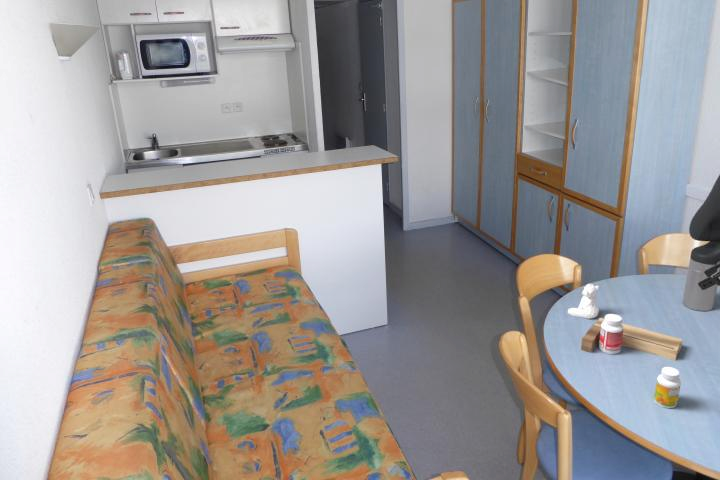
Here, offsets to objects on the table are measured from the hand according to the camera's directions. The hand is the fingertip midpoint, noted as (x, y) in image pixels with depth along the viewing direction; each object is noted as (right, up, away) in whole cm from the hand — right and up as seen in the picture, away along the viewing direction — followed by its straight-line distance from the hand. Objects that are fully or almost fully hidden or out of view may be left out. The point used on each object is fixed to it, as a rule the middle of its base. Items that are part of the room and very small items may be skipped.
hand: (703, 280), depth 145 cm
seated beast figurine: (-13, -15, +43) cm, 48 cm away
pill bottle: (-14, -23, +23) cm, 36 cm away
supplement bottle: (-11, -32, -1) cm, 34 cm away
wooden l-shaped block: (-8, -22, +23) cm, 33 cm away
